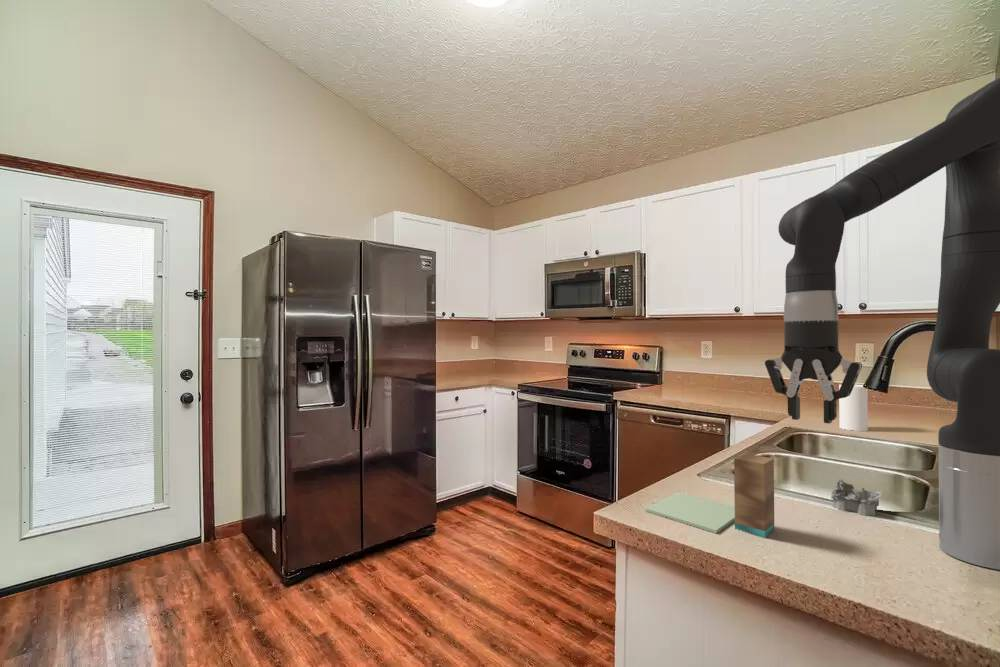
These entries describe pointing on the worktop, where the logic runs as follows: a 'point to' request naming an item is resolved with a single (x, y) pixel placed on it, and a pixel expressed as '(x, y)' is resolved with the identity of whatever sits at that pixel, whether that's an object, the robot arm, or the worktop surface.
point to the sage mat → (695, 511)
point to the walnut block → (754, 494)
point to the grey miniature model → (855, 499)
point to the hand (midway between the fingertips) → (811, 420)
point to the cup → (854, 410)
